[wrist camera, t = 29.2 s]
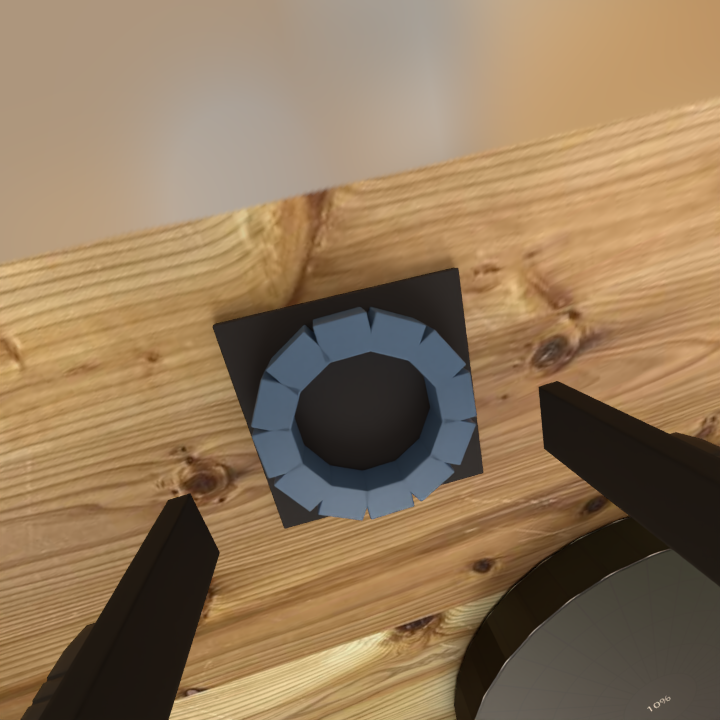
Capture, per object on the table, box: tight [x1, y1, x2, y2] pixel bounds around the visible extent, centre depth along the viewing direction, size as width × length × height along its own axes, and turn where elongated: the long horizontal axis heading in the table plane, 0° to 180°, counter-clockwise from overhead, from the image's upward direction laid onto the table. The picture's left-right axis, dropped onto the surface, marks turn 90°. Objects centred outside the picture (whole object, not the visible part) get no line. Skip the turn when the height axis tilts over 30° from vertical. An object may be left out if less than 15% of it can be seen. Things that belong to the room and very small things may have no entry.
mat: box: [213, 268, 483, 528], centre depth 18 cm, size 12×12×1 cm
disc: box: [454, 517, 720, 720], centre depth 26 cm, size 30×30×3 cm
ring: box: [251, 307, 477, 520], centre depth 17 cm, size 11×11×2 cm
